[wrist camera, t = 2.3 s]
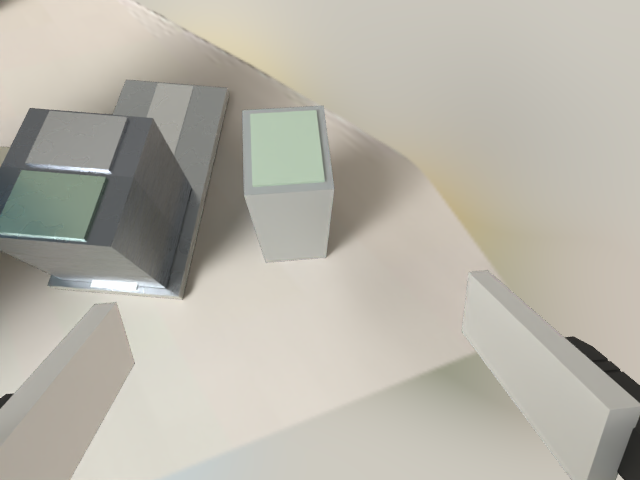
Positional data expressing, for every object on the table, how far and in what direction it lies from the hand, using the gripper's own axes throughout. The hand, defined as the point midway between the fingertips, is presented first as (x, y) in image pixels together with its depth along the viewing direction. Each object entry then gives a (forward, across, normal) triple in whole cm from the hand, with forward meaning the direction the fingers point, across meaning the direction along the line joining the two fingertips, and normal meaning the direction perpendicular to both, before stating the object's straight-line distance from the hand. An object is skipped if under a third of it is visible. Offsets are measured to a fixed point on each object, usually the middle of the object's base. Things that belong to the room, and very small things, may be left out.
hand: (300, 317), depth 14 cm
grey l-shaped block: (+22, -12, +1) cm, 25 cm away
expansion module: (+18, 0, -3) cm, 18 cm away
